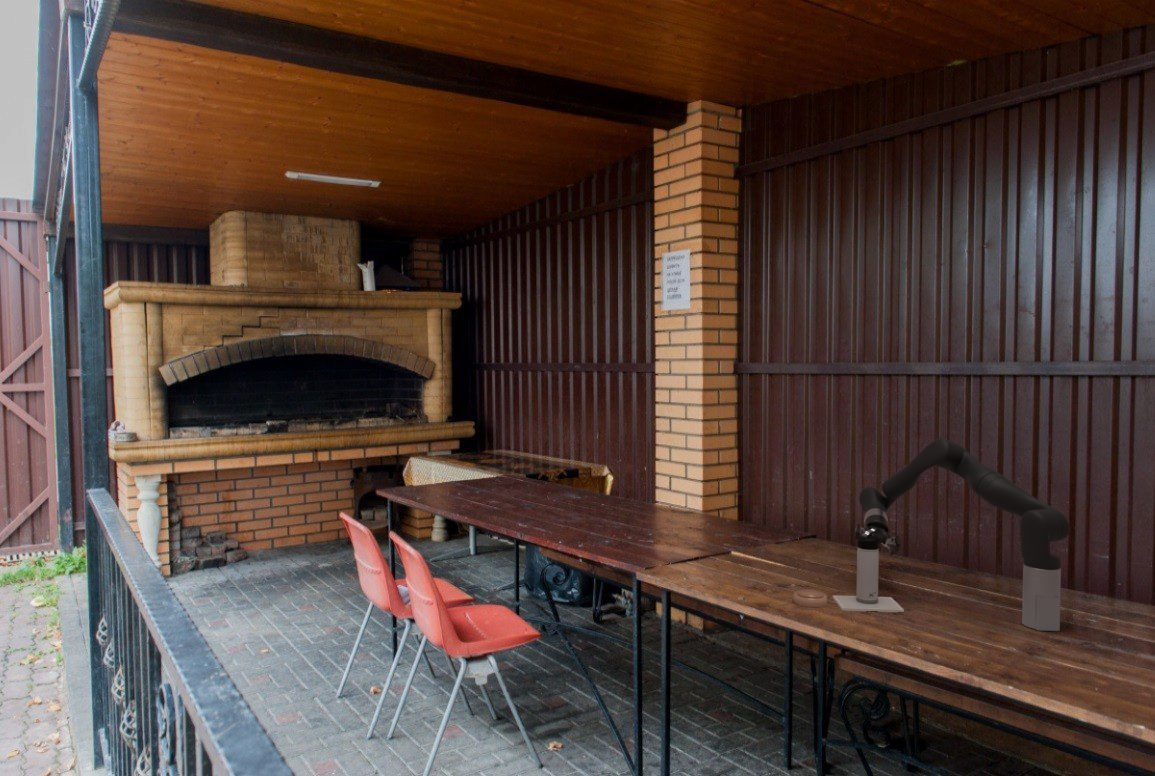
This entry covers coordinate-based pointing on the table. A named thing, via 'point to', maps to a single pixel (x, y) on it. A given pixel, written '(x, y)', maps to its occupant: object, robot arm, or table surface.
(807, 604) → the tan round domed disc
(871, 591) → the travel mug
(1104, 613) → the table surface
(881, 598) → the tile
